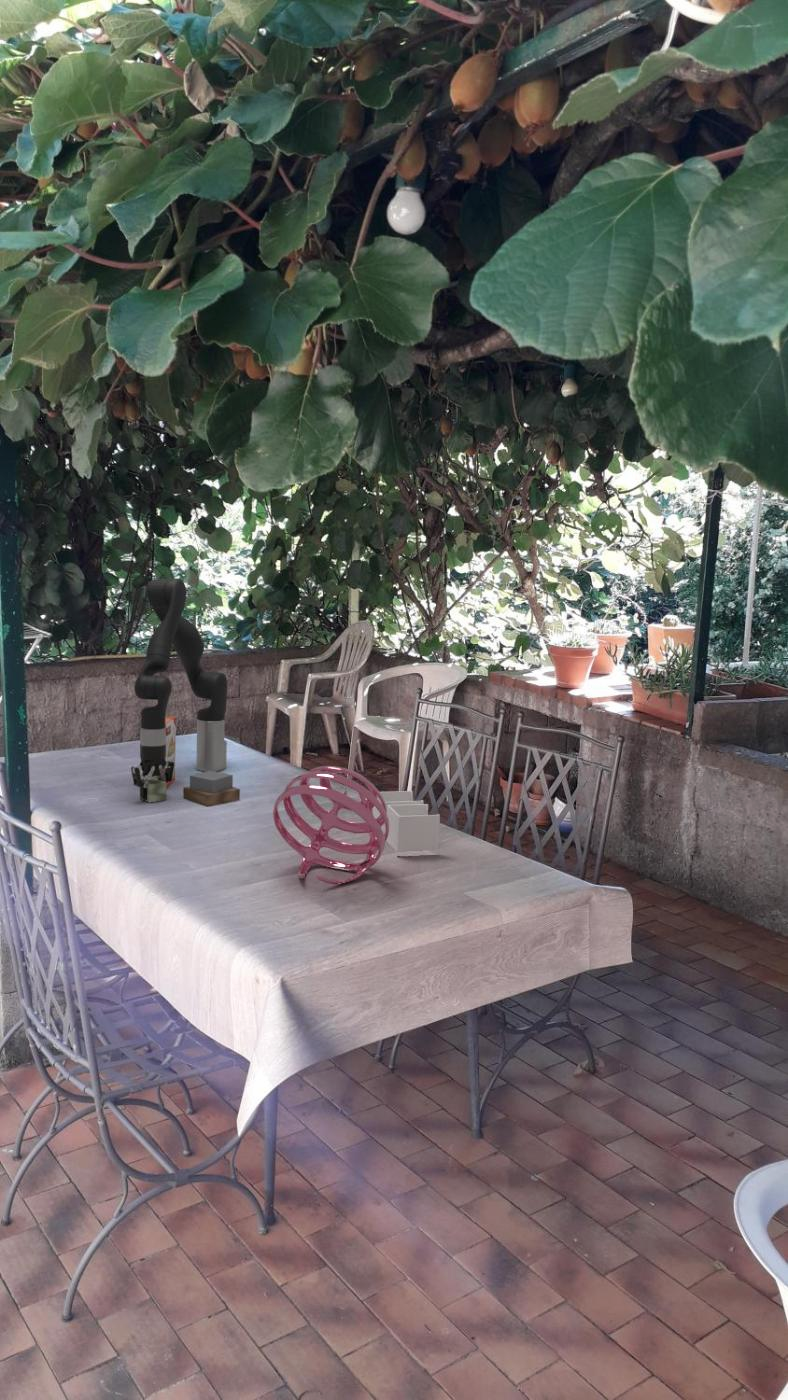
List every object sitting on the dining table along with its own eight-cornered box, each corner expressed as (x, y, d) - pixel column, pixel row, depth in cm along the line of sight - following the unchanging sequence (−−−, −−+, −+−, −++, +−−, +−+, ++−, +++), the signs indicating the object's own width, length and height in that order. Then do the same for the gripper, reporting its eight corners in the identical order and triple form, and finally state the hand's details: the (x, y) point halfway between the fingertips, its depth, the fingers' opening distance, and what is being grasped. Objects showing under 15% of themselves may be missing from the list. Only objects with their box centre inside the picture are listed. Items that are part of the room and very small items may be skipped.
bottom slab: (215, 794, 323) (215, 781, 322) (239, 802, 315) (239, 789, 314) (183, 800, 314) (183, 787, 313) (207, 808, 306) (207, 795, 305)
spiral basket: (327, 824, 223) (372, 737, 241) (230, 831, 238) (279, 748, 256) (385, 907, 237) (423, 819, 255) (290, 909, 252) (332, 826, 270)
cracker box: (166, 790, 322) (166, 724, 319) (146, 789, 323) (147, 723, 319) (176, 779, 336) (177, 716, 333) (157, 778, 336) (158, 715, 333)
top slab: (209, 783, 320) (209, 770, 319) (232, 787, 315) (232, 775, 314) (189, 788, 312) (189, 775, 311) (212, 793, 307) (213, 780, 307)
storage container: (372, 830, 289) (373, 792, 288) (410, 828, 292) (411, 790, 291) (397, 858, 266) (398, 816, 264) (437, 856, 269) (439, 815, 267)
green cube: (155, 796, 314) (155, 778, 314) (166, 800, 311) (166, 782, 310) (139, 799, 310) (139, 781, 310) (150, 803, 307) (150, 784, 306)
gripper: (166, 737, 316) (165, 791, 318) (125, 743, 305) (125, 799, 308) (180, 741, 311) (180, 796, 313) (139, 747, 300) (139, 804, 303)
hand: (152, 797), depth 311 cm, fingers closed on green cube, 5 cm apart
